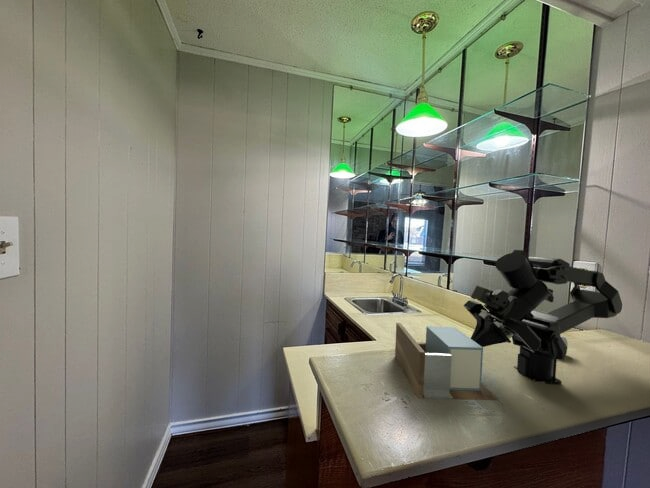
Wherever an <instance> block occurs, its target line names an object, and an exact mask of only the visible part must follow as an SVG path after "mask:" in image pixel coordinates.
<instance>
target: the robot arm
mask: <svg viewBox="0 0 650 488" xmlns="http://www.w3.org/2000/svg"><path fill="white" fill-rule="evenodd" d="M494 266H495V268H496V270H497V271H498V272H499V274H500V276H502V278H503V280H504V281H505V283H506V284H507V286H509V287H510V288H511V289H510V290H508V292H506V291H504V290H502V289H499V288H496V289H495V290H491V289H488V288H486V287H483V286H480V285H476V286H475V288H474V290H473V292H472V293H471V296H470V298H471V299H473V300H468V301H467V302H465V303H464V304H463V307H464V308H465V309H466V311H468V312H469V314H471V316H472V317H473V318H474V319H475V320H476V326H475V328H474V330H473V333H471V334H472V335H471V337H469V338H470V339H472V340H473V341H475V342H476V343H477V344H479V345H480V346H481V347H483V348H485V347H489V346H493V345H494V346H495V345H499V344H503V343H505V344H506V343H508V344H510V343H512V345H514V346H519V353H518V354H517V364H516V365H517V366H513V368H514V369H515V370H517V371H518V372H519V373H520V374H522V375H523V376H525V377H527V378H528V379H530V380H531V381H532V382H539V383H540V382H542V383H546V384H552V385H553V384H559V385H562V384H563V383H562V380H560V379H559V378H557V377H556V375H557V374H556V373H557V362H558V360H561V361H563V360H565V357H566V356H567V352H568V346H566V344H565V343H564V341H563V340H562V338H561V336H562V334H563V333H566V332H568V331H569V330H572V329H574V328H575V327H577V326H579V325H581V324H584V323H585V322H587V321H589V320H591V319H594V318H597V319H610V318H614V317H616V316H617V315H618V314H620V313H621V311H622V310H623V302H622V298H621V295H620V292H619V291H618V289H616V288H615V287H614V286H613V285H611V284H610V283H609V282H608V281H607V280H606V278H605V274H604V273H603V272H601V271H599V270H589V269H583V268H578V267H575V266H571V264H570V262H567V261H566V260H564V259H562V258H554V257H541V256H529V257H528V255H527V253H526V251H525V250H524V249H514V250H513V251H512V252H509V253H507V254H505V255H502V256H501V257H499V258H497V259H496V261H495V265H494ZM568 283H573V287H572V289H571V291H570V293H569V294H570V296H571V298H572V302H569V303H567V304H564V305H562V306H560V307H558V308H556V309H553V310H551V311H550V312H547V313H544V312H539V311H535V309H537V308H538V306H540V305H541V304H542V303H543V302H544V301H547V302H550V303H554V300H555V299H554V298H555V297H554V295H553V294H554V290H553V289H551V288H548V285H546V284H552V285H566V284H568ZM580 286H585V287H586V286H587V287H593V288H595V289H596V290H597V291H593V290H588V289H581V288H580ZM478 301H479V302H478ZM560 335H561V336H560ZM511 339H512V340H511Z"/></svg>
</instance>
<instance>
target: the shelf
mask: <svg viewBox="0 0 650 488" xmlns="http://www.w3.org/2000/svg"><path fill="white" fill-rule="evenodd" d="M394 345H395V350H394V351H395V352H394V358H395V359H396V361H397V363H398V365H399V367H400V368H401V370H402V372H403V374H404V375H405V378H406V379H407V381H408V383H409V384H410V387H411V388H412V390H413V391H414V393H415V395H416V397H417V399H425V398H424V396H423V391H424V369H425V348H426V342H423V341H421V342H417V341H416V339H415V338H414V337H413V336H412V335H411V334H410V332H409V331H408V330H407V329H406V328H405V326H404V325H403V324H402V323H401V322H396V324H395V344H394ZM450 394H451V396H452V397H453V399H452V400H474V401H475V400H479V401H501V400H500V398H499V397H497V395H496V394H494V393H493V392H492V390H490V388H489V387H487V386H486V385H485V384H484V383H483V382H482V381H481V391H476V390H450ZM436 399H438V400H439V399H442V400H446V399H445V398H436Z"/></svg>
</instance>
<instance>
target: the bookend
mask: <svg viewBox="0 0 650 488" xmlns="http://www.w3.org/2000/svg"><path fill="white" fill-rule="evenodd" d="M451 360H452V355H451V354H443V353H425V369H424V391H423V396H424V398H423V399H437V398H445V399H444V400H454V399H453V397H452V396H451V394H450V380H451Z"/></svg>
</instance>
